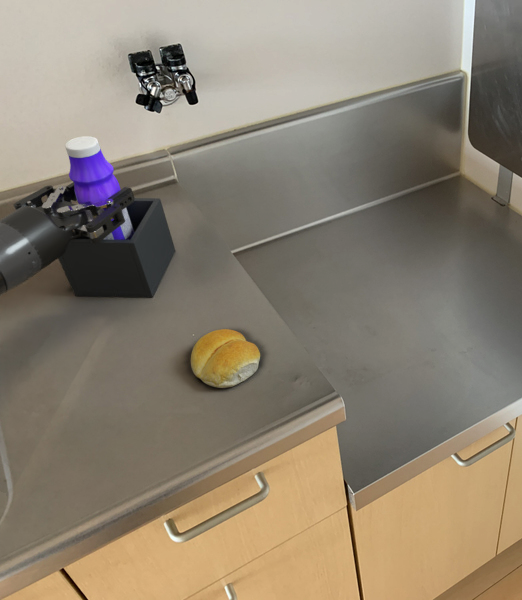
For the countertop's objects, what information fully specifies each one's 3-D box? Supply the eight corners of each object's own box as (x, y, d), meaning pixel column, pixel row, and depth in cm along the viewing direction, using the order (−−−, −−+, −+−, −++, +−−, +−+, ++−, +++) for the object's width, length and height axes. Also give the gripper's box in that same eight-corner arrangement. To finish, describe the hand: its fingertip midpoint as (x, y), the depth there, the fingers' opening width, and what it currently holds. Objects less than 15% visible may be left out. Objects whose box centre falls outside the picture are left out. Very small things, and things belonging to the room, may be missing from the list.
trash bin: (75, 296, 91) (50, 241, 84) (105, 250, 100) (84, 197, 93) (152, 297, 91) (133, 243, 84) (175, 251, 100) (160, 198, 93)
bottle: (99, 239, 94) (59, 133, 83) (138, 233, 95) (104, 128, 84) (97, 266, 89) (54, 157, 77) (138, 259, 90) (102, 152, 79)
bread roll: (231, 332, 85) (226, 311, 83) (271, 365, 81) (267, 344, 78) (179, 363, 81) (172, 342, 78) (217, 400, 76) (211, 379, 74)
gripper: (46, 238, 71) (143, 174, 83) (-41, 211, 76) (63, 153, 87) (68, 287, 76) (157, 220, 88) (-15, 259, 80) (80, 199, 92)
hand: (110, 187), depth 87 cm, fingers closed on bottle, 7 cm apart
